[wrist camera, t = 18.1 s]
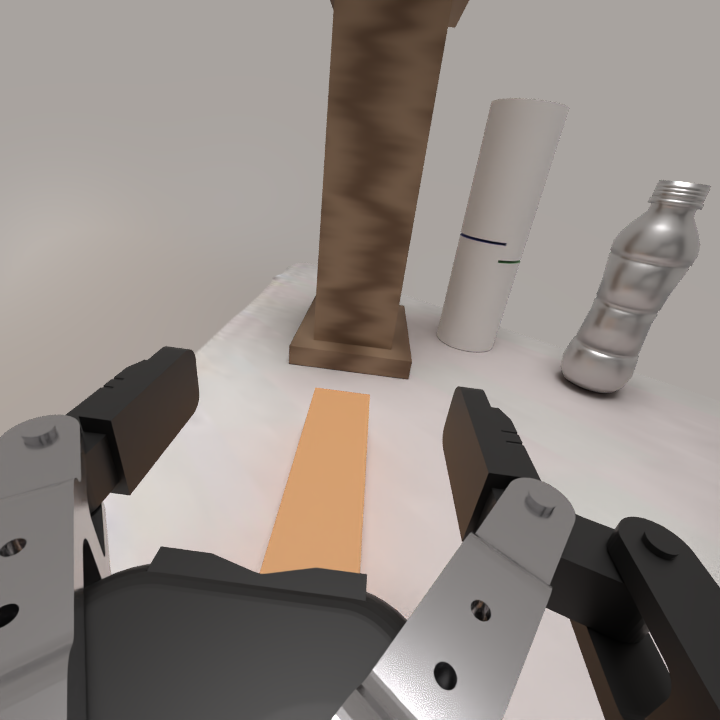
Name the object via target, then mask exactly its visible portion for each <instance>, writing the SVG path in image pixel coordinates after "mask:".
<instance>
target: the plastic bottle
mask: <svg viewBox="0 0 720 720" xmlns="http://www.w3.org/2000/svg"><path fill="white" fill-rule="evenodd" d="M710 187H711V186H708V185H702V184H695V183H686V182H676V181H664V180H659V182H658V183H657V186H656V188H655V190H654V193H653V195H652V197H650V198H649V201H648V202H649V203H651V206H650V208H649V209H648V211H647V212H645V213H644V214H643V215H641V216H640V217H638V218H637V219H635V220H634V221H633V222H631V223H630V224H629V225H628V226H627V227H625V228H624V229H623V230H622V231H621V232H620V233H619V234H618V236H617V237H616V238H615V239H614V241H613V244H612V247H611V252H610V253H609V257H608V261H607V264H606V268H605V271H604V275H603V278H602V282H601V284H600V287H599V289H598V292H597V297H596V298H595V299H594V302H593V305H592V307H591V309H590V311H589V313H588V315H587V316H586V318H585V320H584V322H583V324H582V326H581V327H580V329H579V331H578V333H577V335H576V336H575V337H574V338H573V339H572V341H571V342H570V343H569V345H568V347H567V348H566V350H565V352H564V353H563V358H562V362H561V369H562V372H563V375H564V376H565V378H567V379H568V380H569V381H570V382H572V383H574V384H575V385H578V386H580V387H582V388H585V389H588V390H591V391H595V392H600V393H611V392H614V391H617V390H619V389H621V388H622V387H624V385H625V384H626V383H627V382H628V381H629V379H630V378H631V377H632V375H633V372H634V370H635V367H636V364H637V361H638V354H639V352H640V350H641V347H642V345H643V343H644V340H645V338H646V336H647V333H648V330H649V329H650V326H651V324H652V323H653V321H654V319H655V318H656V316H657V313H658V311H659V310H660V309H661V308H662V306H663V305H664V303H665V301H666V300H667V298H668V296H669V295H670V293H671V292H672V291H673V289H674V288H675V287H676V286H677V284H678V283H679V282H680V280H681V279H682V278H683V276H684V275H685V273H686V272H687V271H688V270H689V267H690V266H692V264H693V263H694V261H695V259H696V258H697V256H698V252H699V247H700V242H699V235H698V230H697V227H696V224H695V221H694V215H695V212H696V210H697V209H700V210H701V209H702V208H703V206H704V204H703V203H704V201H705V199H706V196H707V195H708V193H709V191H710Z"/></svg>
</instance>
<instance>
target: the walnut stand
mask: <svg viewBox="0 0 720 720" xmlns="http://www.w3.org/2000/svg"><path fill="white" fill-rule="evenodd" d="M330 1H331V4H332V7H333V10H334V14H333V31H332V47H331V62H330V78H329V95H328V112H327V127H326V144H325V160H324V177H323V193H322V209H321V225H320V241H319V258H318V274H317V290H316V296H315V298H314V300H313V302H312V304H311V306H310V308H309V310H308V311H307V313H306V315H305V317H304V319H303V321H302V323H301V325H300V327H299V329H298V331H297V332H296V334H295V336H294V338H293V340H292V342H291V344H290V347H289V364H296V365H304V366H312V367H319V368H327V369H334V370H342V371H350V372H357V373H365V374H373V375H380V376H388V377H396V378H403V379H408V378H409V373H410V368H411V363H412V359H411V352H410V344H409V337H408V330H407V322H406V315H405V308H404V306H402V305H399V302H400V297H401V291H402V285H403V280H404V273H405V268H406V262H407V257H408V251H409V245H410V240H411V234H412V228H413V222H414V217H415V211H416V205H417V199H418V194H419V188H420V183H421V177H422V171H423V166H424V160H425V154H426V148H427V142H428V136H429V131H430V126H431V120H432V114H433V108H434V103H435V97H436V91H437V85H438V80H439V74H440V69H441V63H442V57H443V51H444V46H445V40H446V34H447V29H448V27H456V25H457V23H458V21H459V19H460V17H461V15H462V13H463V11H464V9H465V7H466V5H467V3H468V1H469V0H330Z"/></svg>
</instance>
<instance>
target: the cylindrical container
mask: <svg viewBox="0 0 720 720" xmlns="http://www.w3.org/2000/svg"><path fill="white" fill-rule="evenodd" d="M568 111H569V107H568V106H566V105H563V104H560V103H556V102H551V101H544V100H536V99H521V98H514V99H513V98H512V99H498V100H495V101H492V103H491V107H490V111H489V115H488V119H487V124H486V128H485V132H484V137H483V141H482V145H481V149H480V154H479V158H478V162H477V167H476V171H475V175H474V179H473V183H472V188H471V192H470V196H469V201H468V204H467V209H466V213H465V217H464V221H463V226H462V230H461V232H462V233H461V234H460V238H459V243H458V247H457V251H456V255H455V260H454V264H453V268H452V272H451V277H450V281H449V286H448V289H447V294H446V298H445V302H444V306H443V310H442V315H441V319H440V323H439V327H438V331H437V337H438V338H439V339H440V340H441V341H442V342H444V343H445V344H447V345H449V346H451V347H454V348H456V349H460V350H464V351H470V352H485V351H489V350H491V349H492V347H493V344H494V341H495V338H496V335H497V332H498V329H499V326H500V323H501V320H502V316H503V313H504V310H505V307H506V304H507V301H508V298H509V295H510V291H511V288H512V285H513V282H514V279H515V276H516V273H517V270H518V266H519V264H520V260H521V257H522V254H523V251H524V248H525V245H526V242H527V239H528V236H529V232H530V229H531V226H532V223H533V220H534V217H535V214H536V211H537V208H538V204H539V201H540V198H541V195H542V192H543V189H544V186H545V183H546V180H547V176H548V173H549V170H550V167H551V164H552V161H553V158H554V154H555V151H556V148H557V145H558V142H559V139H560V136H561V133H562V130H563V126H564V123H565V120H566V117H567V114H568Z"/></svg>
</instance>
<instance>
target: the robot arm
mask: <svg viewBox="0 0 720 720" xmlns="http://www.w3.org/2000/svg"><path fill="white" fill-rule="evenodd" d="M198 401H199V387H198V377H197V368H196V358H195V354H194V352H193V351H192V350H189V349H182V348H174V347H167V346H166V347H163V348H162V349H160V350H159V351H158V352H157V353H155V354H154V355H153V356H152V357H151V358H150V359H148V360H143V361H141V362H138V363H136V364H134V365H131V366H129V367H127V368H125V369H124V370H123V371H122V372H120V373H119V374H118V375H116V376H115V377H114V379H112V380H110V381H109V382H108V383H106V384H105V385H104V387H103V388H100V389H98V390H97V391H96V392H94V393H93V394H92V395H91V396H89V397H88V398H87V399H85V400H84V401H83V402H82V403H81V404H79V405H78V406H77V407H75V408H74V409H73V410H71V411H70V412H69V413H67V414H66V415H48V416H42V417H38V418H34V419H31V420H28V421H25V422H23V423H21V424H18V425H16V426H14V427H13V428H11V429H10V430H8V431H7V432H5V433H4V434H3V435H2V436H1V437H0V720H502V719H503V717H504V714H505V712H506V709H507V706H508V704H509V701H510V699H511V696H512V694H513V691H514V688H515V686H516V683H517V681H518V678H519V675H520V673H521V670H522V668H523V665H524V662H525V660H526V657H527V655H528V652H529V649H530V647H531V644H532V642H533V639H534V636H535V634H536V631H537V629H538V626H539V623H540V621H541V618H542V616H543V613H544V611H545V608H548V609H550V610H552V611H554V612H556V613H559V614H561V615H563V616H565V617H567V618H569V619H570V621H571V624H572V627H573V630H574V633H575V635H576V638H577V641H578V644H579V647H580V650H581V652H582V655H583V658H584V661H585V664H586V667H587V669H588V672H589V675H590V678H591V681H592V684H593V686H594V689H595V692H596V695H597V698H598V701H599V703H600V706H601V709H602V712H603V715H604V718H605V720H720V587H719V586H718V585H717V583H716V582H715V581H714V579H713V578H712V577H711V575H710V574H709V573H708V571H707V570H706V568H705V567H704V566H703V564H702V563H701V562H700V560H699V559H698V558H697V556H696V555H695V554H694V552H693V551H692V550H691V549H690V547H689V546H688V545H687V544H686V543H685V542H684V541H682V540H681V539H680V538H679V537H678V536H676V535H675V534H674V533H672V532H671V531H669V530H668V529H666V528H665V527H663V526H661V525H659V524H657V523H655V522H652V521H650V520H647V519H644V518H639V517H627V518H624V519H622V520H621V521H620V523H619V524H618V525H617V527H616V528H615V529H612V528H610V527H607V526H604V525H602V524H599V523H596V522H594V521H591V520H589V519H586V518H583V517H581V516H579V515H576V514H575V511H574V509H573V507H572V505H571V503H570V502H569V500H568V499H567V498H566V497H565V496H564V495H563V494H562V493H561V492H559V491H558V490H557V489H555V488H554V487H552V486H551V485H549V484H547V483H545V482H542V481H541V480H540V478H539V476H538V474H537V472H536V469H535V467H534V465H533V463H532V461H531V459H530V457H529V455H528V453H527V451H526V449H525V447H524V446H523V445H522V441H521V439H520V437H519V435H517V431H516V429H515V427H514V425H513V423H512V421H511V419H510V418H509V417H507V416H506V415H505V414H504V413H503V412H502V411H501V410H500V409H499V408H493V407H491V406H490V404H489V401H488V399H487V397H486V394H485V392H484V391H483V390H481V389H474V388H466V387H459V386H458V387H457V388H456V389H455V392H454V395H453V398H452V402H451V405H450V409H449V412H448V416H447V419H446V423H445V426H444V431H443V450H444V455H445V460H446V465H447V470H448V475H449V480H450V485H451V490H452V494H453V499H454V504H455V509H456V514H457V519H458V524H459V529H460V534H461V539H462V542H463V543H462V544H461V546H460V547H459V549H458V550H457V551H456V553H455V554H454V556H453V557H452V558H451V560H450V561H449V563H448V564H447V565H446V567H445V568H444V570H443V571H442V572H441V574H440V575H439V577H438V578H437V580H436V581H435V582H434V584H433V585H432V587H431V588H430V589H429V591H428V592H427V594H426V595H425V596H424V598H423V599H422V601H421V602H420V604H419V605H418V606H417V608H416V609H415V611H414V612H413V613H412V615H411V616H410V618H409V619H408V620H406V619H405V618H404V617H403V616H402V615H401V614H400V613H399V612H398V611H397V610H396V609H394V608H393V607H392V606H390V605H389V604H388V603H386V602H385V601H383V600H381V599H380V598H378V597H376V596H374V595H372V594H370V593H368V592H366V583H367V574H361V573H354V572H346V571H339V570H331V569H324V568H317V567H316V568H308V569H300V570H291V571H283V572H275V573H266V574H260V573H256V572H253V571H251V570H249V569H246V568H244V567H242V566H239V565H237V564H235V563H233V562H230V561H228V560H226V559H223V558H221V557H219V556H217V555H214V554H212V553H205V552H198V551H191V550H183V549H176V548H168V547H160V549H159V551H158V552H157V554H156V556H155V557H154V559H153V561H152V563H151V564H147V565H142V566H137V567H133V568H129V569H126V570H123V571H120V572H117V573H115V574H112V575H111V570H110V559H109V547H108V536H107V524H106V512H105V506H104V503H103V500H104V499H105V498H106V497H107V496H108V495H109V493H117V494H124V495H131V493H132V492H133V491H134V489H135V488H136V487H137V486H138V484H139V483H140V482H141V480H142V479H143V478H144V477H145V475H146V474H147V473H148V471H149V470H150V469H151V468H152V466H153V465H154V464H155V462H156V461H157V460H158V459H159V457H160V456H161V455H162V453H163V452H164V451H165V450H166V448H167V447H168V446H169V444H170V443H171V442H172V441H173V439H174V438H175V437H176V435H177V434H178V433H179V432H180V430H181V429H182V428H183V427H184V425H185V424H186V423H187V421H188V420H189V419H190V418H191V416H192V415H193V414H194V412H195V410H196V408H197V405H198ZM649 631H650V633H651V635H652V637H653V639H654V641H655V643H656V645H657V647H658V649H659V651H660V653H661V654H662V656H663V658H664V660H665V662H666V665H667V667H668V670H669V672H668V670H667V668H666V666H665V664H664V662H663V660H662V658H661V656H660V654H659V652H658V650H657V648H656V646H655V644H654V642H653V640H652V638H651V637H650V635H649V633H648V632H649ZM669 673H670V674H669Z"/></svg>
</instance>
